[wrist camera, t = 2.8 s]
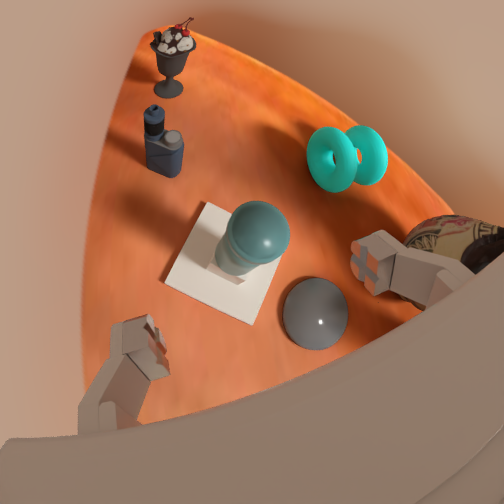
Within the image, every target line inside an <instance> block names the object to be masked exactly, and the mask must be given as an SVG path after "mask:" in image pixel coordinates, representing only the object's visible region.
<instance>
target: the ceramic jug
mask: <svg viewBox="0 0 504 504" xmlns="http://www.w3.org/2000/svg"><path fill="white" fill-rule="evenodd" d="M403 245H404V246H405V247H407V248H410V247H411V248H415V249H419V250H423V251H427V252H430V253H434V254H438V255H442V256H445V257H449V258H453V259H456V260H458V261H459V262H461V263H462V264H463V265H464V266H466V267H467V268H468V269H469V270H470V271H471V272H473V273H474V274H475V275H476V274H477V273H479V272H480V271H481V270H482V269H484V268H485V267H486V266H487V265H489V264H490V263H491V262H492V261H494V260H495V259H496V258H497V257H498V256H500V255H501V254H502V253H503V252H504V228H502V227H500V226H494V225H491V224H488V223H486V222H483V221H481V220H477V219H473V218H468V217H465V216H459V215H442V216H439V217H433V218H431V219H427V220H424V221H423V222H421V223H420V224H418V225H417V226H416V227H415V228H413V229H412V230H411V231H410V233H409V234H408V235H407V237H406V239H405V240H404V242H403ZM399 296H400V297H401V298H402V299H403V300H405V301H407V302H411V303H412V304H413V305H414V306H415V307H416V308H418V309H420V310H422V311H425V309H426V306H425V305H423V304H420V303H418V302H416V301H414V300H411V299H409V298H407V297H405V296H402V295H400V294H399ZM378 303H379V302H378Z"/></svg>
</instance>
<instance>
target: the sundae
mask: <svg viewBox="0 0 504 504" xmlns="http://www.w3.org/2000/svg"><path fill="white" fill-rule="evenodd" d="M189 19H191V20H194V18H191V17H190V18H189ZM189 19H188V20H189ZM188 20H187V21H188ZM187 21H186V22H187ZM189 22H190V21H189ZM189 22H188V23H189ZM184 23H185V22H184ZM188 23H187V25H188ZM187 25H186V29H184V30H183V29H182V24H181V25H180V24H177V25H175V27H169V28H168V29H167V30H165V31H164V32H163V34H161V32H160V31H158V32H154V33H153V35H154V38H155V39H154V40H153V41H152V42H151V43H150V45H151V48H152V50H154V51H155V52H156V58H157V66H158V70H159V72H160V73H161V74H162V75H164V76H166V80H163V81H160V82H159V83H157V85H156V86H155V89H154V90H155V93H156V94H157V95H158V96H160V97H162V98H173V97H176V96H178V95H180V94H181V93H182V91H183V85H182V84H181V83H180V82H179V81H177V80H174V79H173V77H174V76H176V75H178V74H180V73H181V72H182V70H183V68H184V66H185V63H186V60H187V57H188V55H189V53H190V52H191V51H193V50H195V48H196V42H195V40H194V39H193V38H192V37H191V36H190V35H189V34H190V31H189V30H187Z"/></svg>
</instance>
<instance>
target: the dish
mask: <svg viewBox="0 0 504 504" xmlns="http://www.w3.org/2000/svg"><path fill="white" fill-rule="evenodd" d="M347 321H348V307H347V303H346V300H345V297H344V295H343V293H342V292H341V291H340V289H339V288H338V287H337V286H336V285H335V284H333V283H332V282H330V281H328V280H326V279H322V278H311V279H308V280H305V281H302V282H300V283H298V284H297V285H296V286H295V287H293V288H292V290H291V291H290V292H289V294H288V295H287V297H286V299H285V302H284V306H283V323H284V327H285V330H286V332H287V334H288V335H289V337H290V338H291V339H292V340H293V341H294V342H295V343H296V344H297V345H299V346H301V347H303V348H305V349H310V350H322V349H326V348H328V347H330V346H332V345H333V344H335V343H336V342H337V341H338V340H339V339H340V337H341V336H342V335H343V333H344V331H345V328H346V325H347Z"/></svg>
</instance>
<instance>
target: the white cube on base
mask: <svg viewBox="0 0 504 504" xmlns="http://www.w3.org/2000/svg"><path fill="white" fill-rule="evenodd" d="M231 215H232V214H231V213H229V212H227V211H225V210H223V209H221V208H219V207H217V206H215V205H213V204H211V203H209V202H207V204H206V205H205V207H204V209H203V211H202V212H201V214H200V216H199V218H198V220H197V222H196V223H195V225H194V227H193V229H192V231H191V233H190V234H189V236H188V238H187V240H186V242H185V244H184V246H183V248H182V250H181V251H180V253H179V255H178V257H177V259H176V261H175V263H174V265H173V267H172V269H171V271H170V273H169V275H168V277H167V279H166V281H165V284H166V285H168V286H170V287H172V288H174V289H176V290H178V291H180V292H182V293H184V294H186V295H188V296H190V297H192V298H194V299H196V300H198V301H200V302H202V303H204V304H206V305H208V306H210V307H212V308H214V309H216V310H218V311H221V312H223V313H225V314H227V315H229V316H231V317H233V318H236V319H238V320H240V321H242V322H244V323H247V324H249V325H253V323H254V321H255V319H256V316H257V314H258V312H259V309H260V307H261V304H262V302H263V300H264V297H265V295H266V293H267V290H268V288H269V285H270V283H271V281H272V278H273V276H274V273H275V271H276V268H277V266H278V264H279V261H280V259H281V256H282V255H281V256H280V257H278V258H277V259H275V260H274V261H272V262H270V263H267V264H263V265H259V266H258V267H256V268H254V269H253V270H251V271H250V272H248V273H246V274H244V275H241V276H232V275H229V274H227V273H225V272H224V271H222V270H221V269H220V267H219V266H218V264H217V262H216V259H215V249H216V246H217V244H218V243H219V241H220V239H221V238H222V236H223V235H224V233H225V231H226V227H227V223H228V221H229V219H230V217H231Z"/></svg>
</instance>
